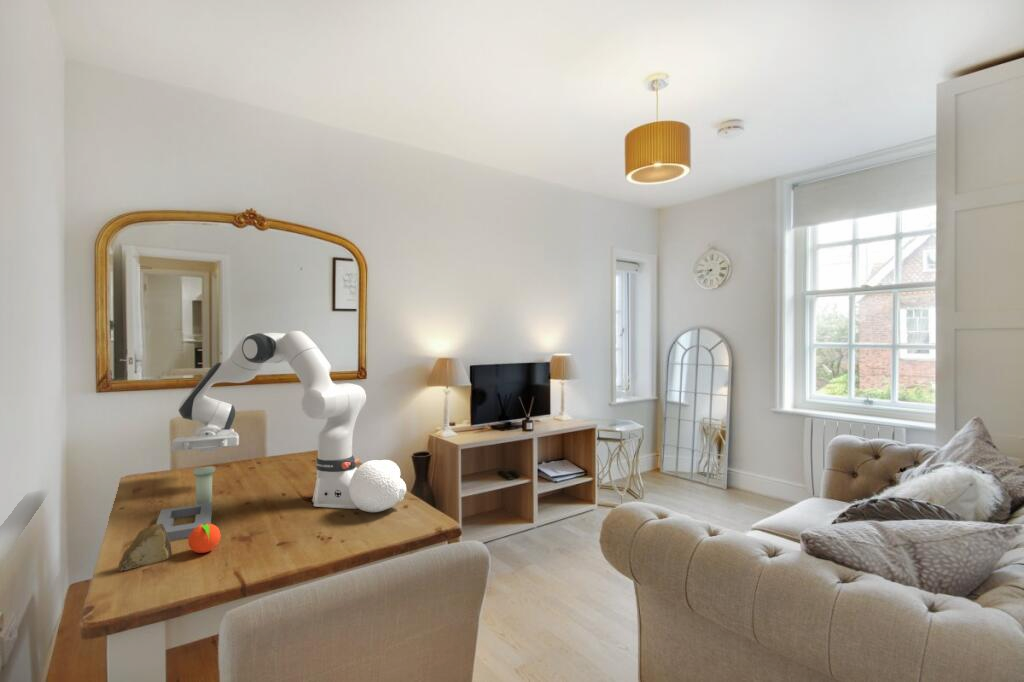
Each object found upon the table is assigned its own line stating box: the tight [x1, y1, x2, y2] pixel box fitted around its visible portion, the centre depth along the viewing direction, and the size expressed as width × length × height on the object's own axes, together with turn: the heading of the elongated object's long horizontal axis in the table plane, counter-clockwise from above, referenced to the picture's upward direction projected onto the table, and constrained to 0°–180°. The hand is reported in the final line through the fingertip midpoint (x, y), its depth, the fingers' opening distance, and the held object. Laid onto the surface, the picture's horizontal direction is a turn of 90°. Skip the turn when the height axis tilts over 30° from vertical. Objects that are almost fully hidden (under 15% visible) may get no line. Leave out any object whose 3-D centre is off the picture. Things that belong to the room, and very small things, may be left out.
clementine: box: [187, 523, 222, 554], centre depth 120 cm, size 8×7×7 cm
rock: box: [118, 523, 173, 572], centre depth 115 cm, size 10×8×10 cm
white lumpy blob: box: [349, 459, 407, 513], centre depth 152 cm, size 20×18×16 cm
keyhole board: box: [155, 502, 213, 542], centre depth 138 cm, size 22×13×2 cm, turn 31°
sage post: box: [193, 465, 216, 505], centre depth 153 cm, size 6×6×12 cm
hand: (205, 446), depth 164 cm, fingers open, 8 cm apart
